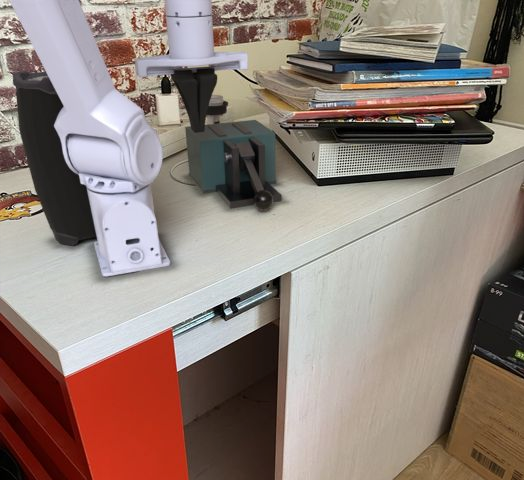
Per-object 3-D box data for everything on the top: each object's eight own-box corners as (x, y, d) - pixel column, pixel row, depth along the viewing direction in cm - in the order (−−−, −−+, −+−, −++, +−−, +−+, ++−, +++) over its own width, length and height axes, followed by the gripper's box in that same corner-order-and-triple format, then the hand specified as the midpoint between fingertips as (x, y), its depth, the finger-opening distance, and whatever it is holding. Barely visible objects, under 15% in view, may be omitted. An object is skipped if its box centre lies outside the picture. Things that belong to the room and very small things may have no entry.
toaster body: (276, 184, 87) (276, 132, 82) (203, 194, 83) (199, 140, 79) (256, 167, 94) (256, 118, 89) (188, 176, 90) (184, 125, 86)
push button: (210, 148, 104) (207, 91, 98) (236, 150, 102) (234, 93, 96) (197, 158, 99) (192, 99, 93) (224, 160, 97) (221, 101, 91)
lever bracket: (281, 202, 81) (281, 148, 76) (230, 209, 78) (228, 155, 74) (258, 181, 88) (257, 131, 84) (211, 187, 86) (208, 137, 81)
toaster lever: (274, 213, 77) (277, 199, 75) (255, 216, 76) (258, 202, 74) (249, 154, 82) (251, 140, 79) (231, 157, 81) (233, 142, 79)
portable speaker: (35, 243, 70) (-13, 76, 58) (82, 216, 77) (47, 63, 65) (88, 253, 67) (49, 81, 55) (132, 225, 74) (105, 66, 62)
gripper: (234, 10, 71) (238, 119, 79) (124, 15, 67) (140, 128, 75) (252, 14, 66) (254, 130, 74) (134, 20, 62) (150, 141, 70)
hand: (197, 130), depth 74 cm, fingers closed
